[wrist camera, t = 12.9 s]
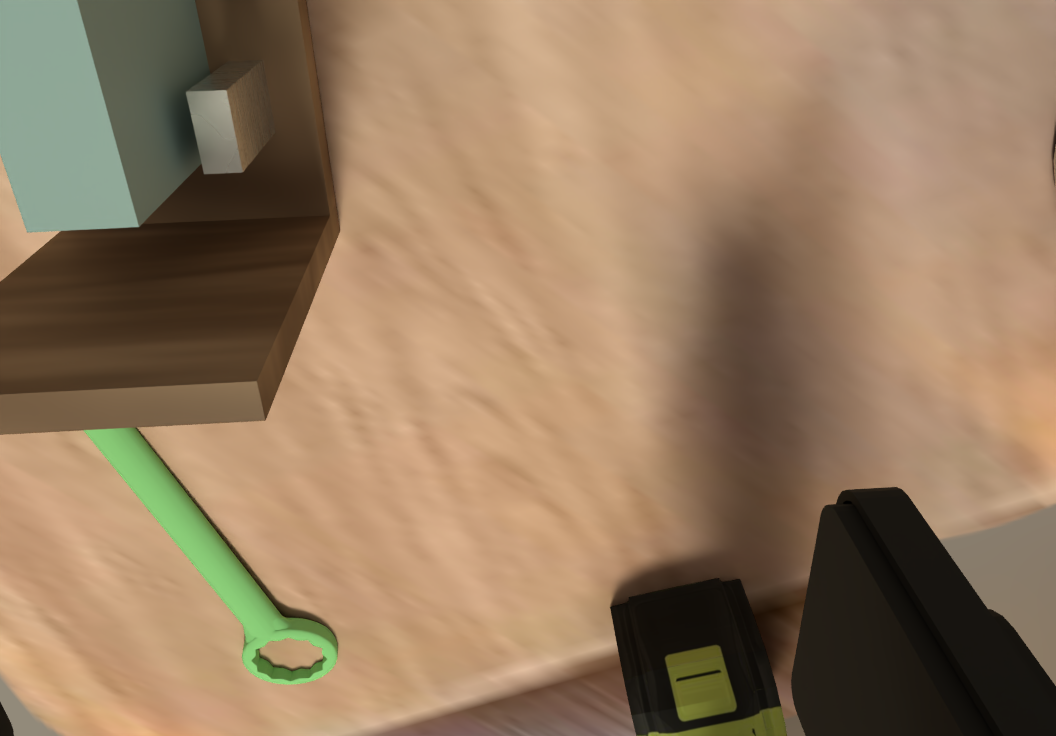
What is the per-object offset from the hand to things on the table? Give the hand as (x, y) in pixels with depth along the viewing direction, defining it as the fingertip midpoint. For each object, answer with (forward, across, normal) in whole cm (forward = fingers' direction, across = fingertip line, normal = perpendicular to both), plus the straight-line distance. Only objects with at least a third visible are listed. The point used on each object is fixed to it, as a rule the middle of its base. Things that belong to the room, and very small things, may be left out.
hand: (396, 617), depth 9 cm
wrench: (+27, +14, +19) cm, 36 cm away
